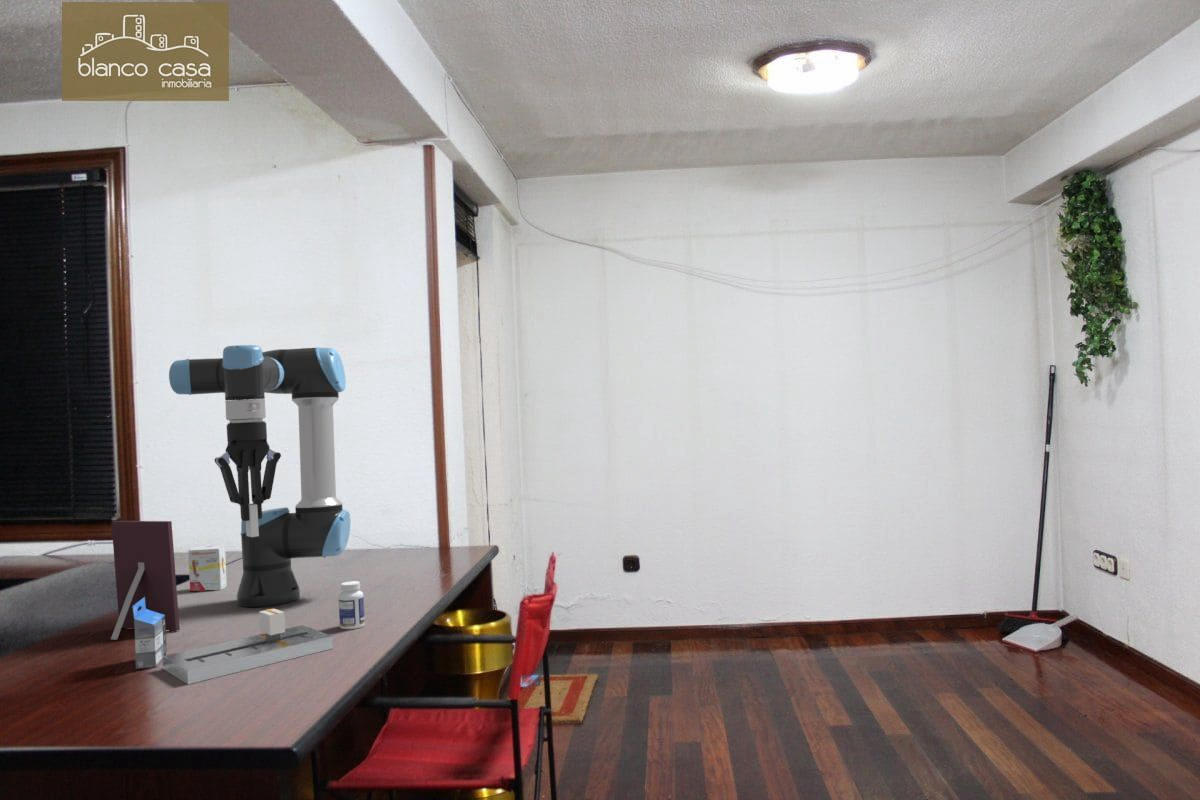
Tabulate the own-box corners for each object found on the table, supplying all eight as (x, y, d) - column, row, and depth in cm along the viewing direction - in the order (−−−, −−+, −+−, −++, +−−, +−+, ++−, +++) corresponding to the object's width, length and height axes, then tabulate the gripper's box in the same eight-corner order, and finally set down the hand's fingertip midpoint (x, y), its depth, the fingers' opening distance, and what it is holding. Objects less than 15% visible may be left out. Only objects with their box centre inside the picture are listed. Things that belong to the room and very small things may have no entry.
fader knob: (261, 650, 175) (259, 610, 175) (275, 647, 177) (273, 607, 177) (271, 655, 171) (269, 614, 171) (286, 651, 173) (284, 611, 173)
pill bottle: (357, 622, 196) (355, 579, 196) (369, 625, 192) (367, 582, 192) (335, 627, 193) (333, 583, 193) (347, 631, 189) (345, 586, 189)
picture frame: (179, 630, 196) (174, 520, 196) (144, 643, 186) (138, 527, 186) (123, 627, 201) (118, 520, 201) (86, 639, 192) (81, 526, 192)
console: (163, 669, 166) (162, 655, 166) (302, 636, 186) (302, 624, 186) (187, 684, 156) (187, 669, 156) (333, 648, 176) (332, 635, 176)
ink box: (189, 592, 238) (187, 549, 238) (195, 588, 243) (193, 546, 243) (221, 590, 239) (219, 547, 239) (227, 586, 243) (225, 544, 243)
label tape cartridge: (157, 667, 168) (154, 604, 168) (134, 670, 167) (131, 606, 167) (167, 655, 176) (164, 594, 176) (146, 657, 175) (143, 596, 175)
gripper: (220, 423, 169) (226, 543, 170) (285, 419, 178) (291, 532, 179) (206, 423, 175) (213, 539, 175) (270, 418, 184) (276, 529, 184)
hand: (252, 535), depth 177 cm, fingers closed
